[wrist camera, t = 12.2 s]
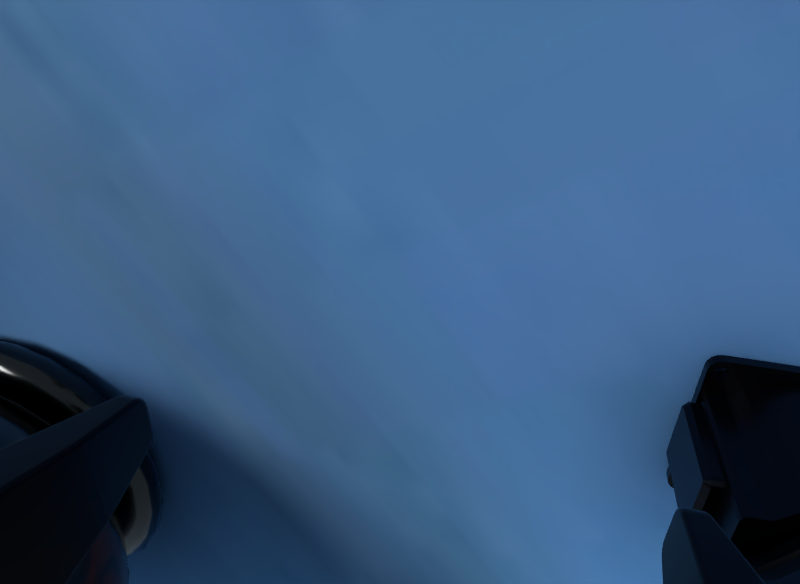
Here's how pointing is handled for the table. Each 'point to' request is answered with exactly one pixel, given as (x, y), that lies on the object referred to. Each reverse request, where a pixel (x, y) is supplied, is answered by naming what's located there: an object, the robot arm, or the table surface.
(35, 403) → the amphora vase
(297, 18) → the table surface
